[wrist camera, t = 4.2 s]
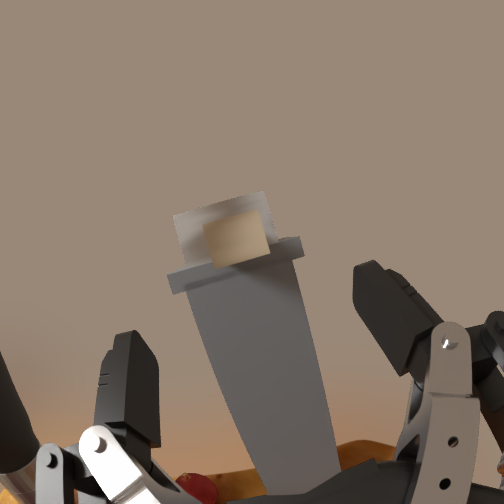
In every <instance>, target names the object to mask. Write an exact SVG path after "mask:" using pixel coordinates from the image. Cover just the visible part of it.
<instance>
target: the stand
mask: <svg viewBox="0 0 504 504" xmlns="http://www.w3.org/2000/svg"><path fill="white" fill-rule="evenodd" d="M278 241H279V242H277V243H273V244H270V245H268V247H269V250H270V254H266V255H263V256H259V257H256V258H253V259H249V260H246V261H243V262H239V263H236V264H232V265H229V266H226V267H222V268H219V269H214V265H213V262H208V263H205V264H202V265H198V266H195V267H192V268H188V269H187V266H185V267H182V268H180V269H178V270H176V271H174V272H172V273H170V274H168V275H167V277H168V280H169V284H170V287H171V290H172V293H173V294H177V293H180V292H184V291H186V293H187V296H188V299H189V303H190V305H191V309H192V312H193V315H194V318H195V321H196V324H197V327H198V330H199V332H200V335H201V338H202V341H203V344H204V346H205V349H206V352H207V355H208V357H209V360H210V362H211V365H212V368H213V371H214V373H215V376H216V378H217V381H218V383H219V386H220V389H221V391H222V394H223V396H224V398H225V401H226V403H227V406H228V408H229V410H230V413H231V415H232V418H233V420H234V422H235V425H236V427H237V429H238V431H239V434H240V436H241V438H242V440H243V442H244V444H245V447H246V449H247V451H248V453H249V455H250V458H251V460H252V462H253V464H254V466H255V468H256V470H257V472H258V474H259V476H260V478H261V480H262V482H263V484H264V486H265V488H266V490H267V494H268V495H294V494H303V493H306V492H308V491H310V490H312V489H313V488H315V487H317V486H319V485H320V484H322V483H324V482H325V481H327V480H328V479H330V478H332V477H333V476H335V475H336V474H338V473H339V472H342V470H341V468H340V463H339V458H338V452H337V447H336V442H335V438H334V432H333V427H332V423H331V418H330V413H329V408H328V404H327V400H326V395H325V390H324V386H323V382H322V377H321V373H320V368H319V364H318V360H317V356H316V351H315V347H314V343H313V339H312V335H311V331H310V327H309V323H308V319H307V315H306V312H305V307H304V303H303V299H302V296H301V292H300V288H299V284H298V280H297V277H296V273H295V269H294V266H293V262H292V260H293V259H297V258H300V257H303V256H305V255H304V251H303V248H302V244H301V240H300V237H299V236H298V237H287V238H282V239H278Z"/></svg>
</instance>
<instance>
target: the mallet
mask: <svg viewBox="0 0 504 504" xmlns="http://www.w3.org/2000/svg"><path fill="white" fill-rule="evenodd" d="M173 220H174V224H175V227H176V231H177V235H178V238H179V242H180V246H181V249H182V253H183V256H184V259H185V263H186V266H187V269H188V268H192V267H195V266H198V265H202V264H205V263H208V262H213V265H214V269H219V268H222V267H226V266H229V265H232V264H236V263H239V262H243V261H246V260H249V259H253V258H256V257H259V256H263V255H266V254H270V250H269V247H268V245H270V244H273V243H277V242H279V241H278V238H277V234H276V231H275V227H274V224H273V220H272V217H271V213H270V210H269V206H268V203H267V200H266V196H265V193H264V190H263V191H259V192H255V193H252V194H248V195H244V196H240V197H236V198H233V199H229V200H226V201H222V202H218V203H215V204H211V205H208V206H205V207H201V208H198V209H194V210H191V211H188V212H184V213H181V214H178V215H174V216H173Z"/></svg>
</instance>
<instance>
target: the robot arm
mask: <svg viewBox="0 0 504 504" xmlns="http://www.w3.org/2000/svg"><path fill="white" fill-rule="evenodd" d="M353 303H354V307H355V309H356V311H357V313H358V314H359V316H360V317H361V319H362V320H363V322H364V323H365V325H366V326H367V328H368V329H369V330H370V332H371V333H372V335H373V337H374V338H375V340H376V341H377V343H378V344H379V346H380V347H381V349H382V350H383V352H384V353H385V355H386V356H387V358H388V360H389V361H390V363H391V364H392V366H393V367H394V369H395V370H396V372H397V374H398V375H399V376H402V375H404V374H406V373H408V372H409V373H410V374H411V376H412V377H413V378H412V381H411V387H410V394H409V400H408V407H407V412H406V417H405V423H404V427H403V430H402V432H401V435H400V437H399V440H398V443H397V446H396V449H395V453H394V457H393V460H392V461H380V462H375V459H374V458H372V459H370V460H368V461H366V462H363V463H361V464H359V465H357V466H354V467H352V468H349V469H347V470H344V471H342V472H339V473H338V474H336V475H335V476H333V477H332V478H330V479H328V480H327V481H325V482H324V483H322V484H320V485H319V486H317V487H315V488H313V489H312V490H310V491H308V492H306V493H303V494H294V495H262V496H257V497H252V498H247V499H241V500H235V501H228V502H226V504H504V377H503V376H502V374H501V373H500V371H499V370H498V368H497V367H496V366H497V365H498V364H499V366H500V367H501V369H502V370H503V372H504V312H502V311H494V312H492V313H490V314H489V316H488V318H487V319H486V321H485V323H484V324H482V325H478V326H473V327H469V328H463V327H462V326H461V325H459V324H457V323H454V322H444V321H443V320H442V319H441V318H440V317H439V315H438V314H437V313H436V312H435V311H434V310H433V309H432V307H431V306H430V305H429V304H428V303H427V302H426V301H425V299H424V298H423V297H422V296H421V295H420V294H419V293H417V291H416V290H415V289H414V288H413V287H412V286H410V283H409V282H408V281H407V280H406V279H405V278H404V277H403V276H402V275H401V274H399V273H397V272H395V271H393V270H391V269H388V270H384V269H383V268H382V267H381V266H380V265H379V264H378V263H377V262H376V261H375V260H371V261H368V262H365V263H362V264H360V265H357V266H355V267H354V270H353ZM98 385H99V387H98V391H97V398H96V406H95V415H94V424H93V426H92V427H90V428H88V429H87V430H86V431H85V432H84V433H83V435H82V437H81V439H80V442H79V443H77V444H74V445H71V446H69V447H66V448H63V449H62V448H60V447H59V446H57V445H56V444H53V443H47V444H45V445H43V446H42V445H41V444H40V443H39V441H38V439H37V438H36V436H35V434H34V433H33V430H32V427H31V423H30V420H29V417H28V414H27V412H26V410H25V408H24V406H23V404H22V402H21V400H20V398H19V396H18V393H17V391H16V389H15V386H14V384H13V382H12V379H11V377H10V374H9V372H8V369H7V367H6V364H5V362H4V359H3V357H2V355H1V352H0V482H1V483H2V485H3V486H4V487H5V488H6V489H7V490H8V492H9V493H10V494H11V495H12V496H13V497H14V498H15V499H16V501H17V502H18V503H19V504H203V503H201V502H200V501H199V500H197V499H196V498H194V497H193V496H191V495H189V494H188V493H187V492H186V491H184V490H183V489H182V488H181V487H180V486H179V485H178V484H177V483H176V482H175V481H174V480H173V479H172V478H171V477H170V476H169V475H168V474H167V473H166V472H165V471H164V470H163V469H162V467H160V465H159V464H158V463H157V462H156V461H155V460H154V459H153V458H152V457H151V448H160V447H161V436H160V416H159V415H160V414H159V367H158V363H157V360H156V357H155V355H154V354H153V352H152V351H151V350H150V348H149V347H148V346H147V344H146V343H145V341H144V340H143V338H142V337H141V336H140V334H139V333H138V332H137V331H136V330H133V331H129V332H125V333H120V334H117V335H116V336H115V339H114V345H113V350H109V351H108V353H107V354H106V356H105V358H104V360H103V361H102V364H101V370H100V377H99V383H98ZM480 411H481V413H482V414H483V416H484V418H485V420H486V422H487V424H488V426H489V427H490V429H491V431H492V433H493V435H494V437H495V439H496V441H497V443H498V445H499V447H500V450H501V451H502V457H501V461H500V462H499V464H498V466H497V470H498V472H499V473H500V474H502V482H501V485H500V488H499V489H496V488H492V487H488V486H483V485H479V484H476V483H472V477H473V471H474V465H475V459H476V452H477V444H478V433H479V421H480ZM77 491H78V492H77Z"/></svg>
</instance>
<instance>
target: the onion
mask: <svg viewBox="0 0 504 504" xmlns="http://www.w3.org/2000/svg"><path fill="white" fill-rule="evenodd" d="M175 482H176V483H177V484H178V485H179V486H180V487H181V488H182V489H183V490H184V491H186V492H187V493H188V494H189V495H191V496H193V497H194V498H196V499H197V500H199V501H200V502H201V503H203V504H215V503H216V502H217V497H218V491H217V488H216V485H215V484H214V483H213V482H212V481H211V480H210V479H209V478H207V477H206V476H203V475H200V474H196V473H183V474H182V475H181V476H180V477H179V478H178V479H177V480H176V481H175Z"/></svg>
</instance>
